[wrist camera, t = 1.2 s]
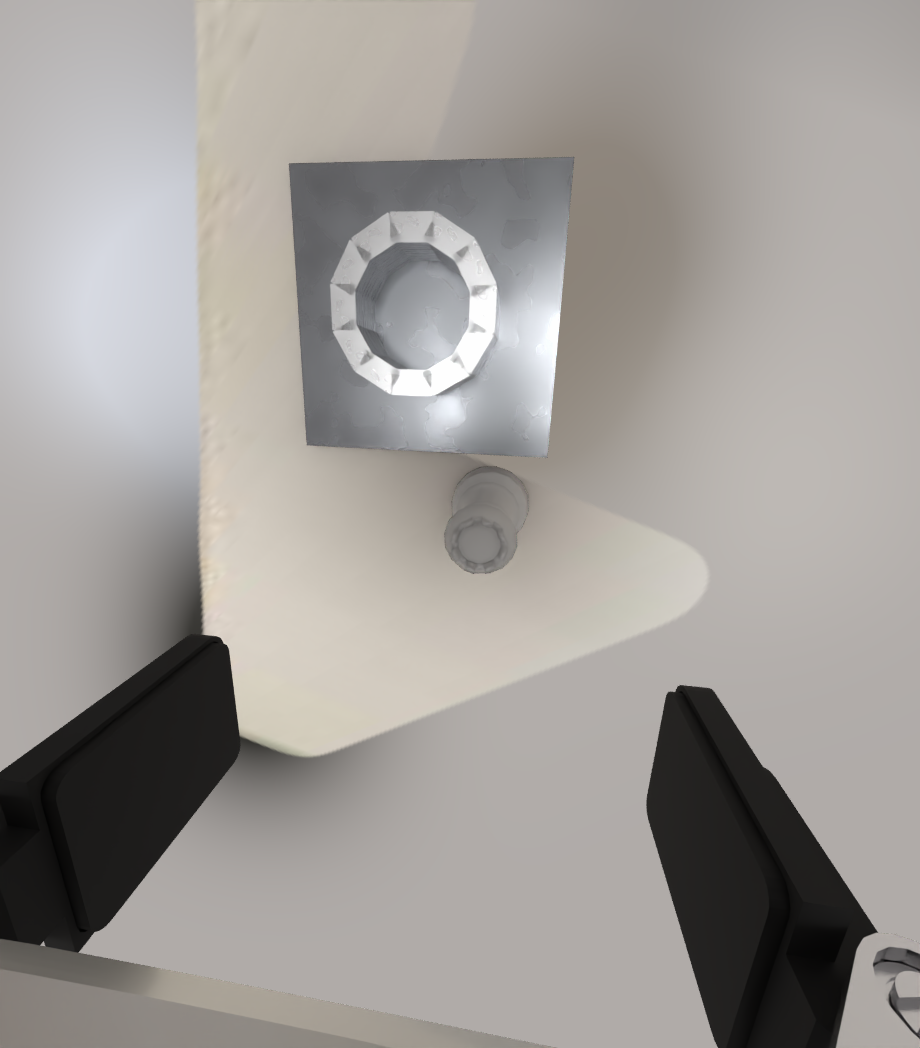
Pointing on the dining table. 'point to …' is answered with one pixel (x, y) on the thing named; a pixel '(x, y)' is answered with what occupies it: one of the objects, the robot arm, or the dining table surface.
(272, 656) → the dining table surface
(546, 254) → the socket
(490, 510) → the rook chess piece
